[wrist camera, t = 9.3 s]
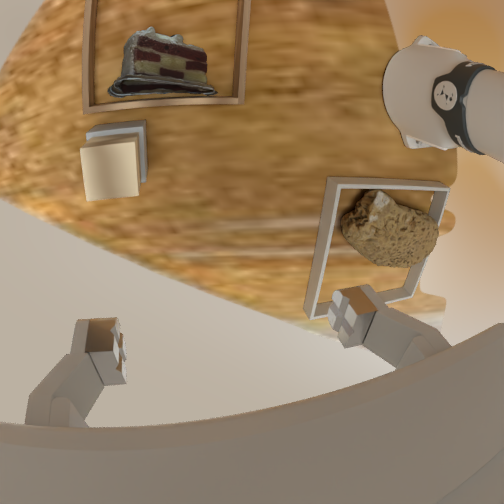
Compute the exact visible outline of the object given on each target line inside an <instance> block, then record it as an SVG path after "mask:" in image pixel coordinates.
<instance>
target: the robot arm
mask: <svg viewBox="0 0 504 504" xmlns="http://www.w3.org/2000/svg"><path fill="white" fill-rule="evenodd" d="M383 97H384V103H385V106H386V109H387V112H388V114H389V116H390V118H391V120H392V121H393V123H394V124H395V125H396V126H397V128H398V129H399V130H400V132H401V135H402V139H403V142H404V144H405V146H406V147H407V148H411V149H417V148H425V147H436V148H439V149H442V150H447V149H452V148H457V147H462V148H464V149H466V150H468V151H470V152H474V153H477V154H479V155H489V156H490V157H492V158H494V159H496V160H498V161H500V162H502V163H504V73H503V72H500V71H497V70H495V69H494V68H493V67H490V66H487V65H485V64H483V63H478V62H473V61H471V60H468V59H467V56H466V55H464V54H462V53H461V52H460V51H459V50H455V49H451V48H445V47H440V46H439V45H438V44H436V43H435V42H434V41H432V40H431V39H430V38H428V37H427V36H422V35H421V36H418V37H417V38H416V39H415V41H414V42H413V43H412V45H410V46H409V47H406V48H404V49H402V50H400V51H399V52H397V53H396V54H395V55H394V56H393V57H392V59H391V60H390V62H389V64H388V66H387V68H386V71H385V75H384V80H383ZM416 140H417V141H416ZM332 300H333V301H334V302H333V303H332V304H331V306H330V307H329V310H328V320H329V323H330V325H331V327H332V329H333V330H335V331H337V332H338V338H339V340H340V342H341V343H342V345H343V346H344V348H349V347H353V346H358V345H362V344H363V346H364V347H366V348H367V349H369V350H370V351H372V352H373V353H375V354H376V355H378V356H379V357H381V358H382V359H384V360H385V361H387V362H388V363H389V364H391V365H392V366H394V367H396V369H395V371H393V372H390V373H387V374H385V375H382V376H379V377H376V378H373V379H370V380H367V381H365V382H362V383H359V384H355V385H352V386H349V387H346V388H343V389H339V390H336V391H333V392H329V393H326V394H322V395H319V396H316V397H312V398H308V399H305V400H300V401H296V402H292V403H288V404H284V405H279V406H275V407H271V408H266V409H262V410H256V411H252V412H246V413H241V414H235V415H229V416H223V417H217V418H210V419H203V420H196V421H188V422H179V423H171V424H159V425H147V426H132V427H131V426H130V427H106V428H105V427H103V428H101V427H99V428H89V426H88V425H87V424H86V422H85V421H84V420H85V418H86V417H87V415H88V413H89V411H90V410H91V408H92V407H93V405H94V403H95V402H96V400H97V398H98V397H99V395H100V393H101V392H102V390H103V389H104V386H108V385H120V384H126V367H125V364H124V362H125V360H126V345H125V340H124V337H123V334H122V333H120V323H119V320H118V318H117V317H115V318H96V319H82V320H81V319H78V320H77V322H76V324H75V329H74V335H73V340H72V346H71V352H70V354H66V355H65V356H64V357H63V358H62V359H61V360H60V362H59V363H58V364H57V365H56V366H55V367H54V368H53V369H52V370H51V371H50V372H49V374H48V375H47V376H46V377H45V378H44V379H43V380H42V382H41V383H40V384H39V385H38V386H37V387H36V388H35V389H34V390H33V392H32V393H31V394H30V395H29V399H28V405H27V411H26V418H25V425H24V424H14V423H6V422H0V504H504V323H498V324H496V325H494V326H492V327H490V328H488V329H486V330H485V331H483V332H481V333H479V334H477V335H475V336H473V337H471V338H469V339H467V340H465V341H463V342H461V343H459V344H457V345H455V346H451V345H450V344H449V343H448V342H447V340H446V339H445V338H444V337H443V336H442V335H441V333H440V332H439V331H438V330H437V329H436V328H434V327H432V326H430V325H428V324H426V323H423V322H421V321H419V320H417V319H415V318H413V317H411V316H409V315H406V314H404V313H402V312H400V311H398V310H396V309H394V308H388V306H387V305H386V304H385V303H384V302H383V300H382V299H381V298H380V297H379V296H378V295H377V293H376V292H375V291H374V290H373V289H372V287H371V286H369V285H367V284H366V285H360V286H356V287H351V288H345V289H339V290H335V291H334V293H333V295H332Z"/></svg>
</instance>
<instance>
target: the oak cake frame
mask: <svg viewBox="0 0 504 504" xmlns="http://www.w3.org/2000/svg"><path fill="white" fill-rule="evenodd" d="M97 3H98V0H86V2H85V13H84V26H83V47H82V99H83V114H89V113H96V112H104V111H112V110H120V109H130V108H141V107H153V106H169V105H192V104H244V98H245V81H246V65H247V50H248V35H249V20H250V6H251V0H238V12H237V26H236V41H235V58H234V75H233V93H232V96H188V97H166V98H150V99H138V100H128V101H118V102H110V103H102V104H95V99H94V51H95V28H96V14H97Z"/></svg>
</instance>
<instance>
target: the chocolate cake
mask: <svg viewBox="0 0 504 504" xmlns="http://www.w3.org/2000/svg"><path fill="white" fill-rule="evenodd" d="M206 61H207V55H206V53H205V52H204V50H203V49H202V48H199V47H196V46H194V45H186V44H184V43H183V37H182V36H181V35H173V36H171V37H169V36H166V35H161V34H158V33H155V29H154V28H153V27H149V28H148V29H147V30H146V31H145V30H142V31H137V32H136V33H135V34H133V35H132V36H131V37H130V38H129V39H128V41H127V43H126V44H125V46H124V59H123V62H122V72H121V77H119V78H118V79H117V80H116V81H114V84H113V85H112V86H111V87H109V89H108V92H109V94H110V96H113V97H118V98H119V97H120V98H122V97H125V96H133V95H141V94H142V95H143V94H152V93H157V94H159V93H160V94H166V93H173V92H174V93H191V94H192V93H196V94H197V93H198V94H201V93H203V94H205V95H207V96H209V95H214V94H217V92H216V91H215V90H214V87H212V86H211V85H207V84H206V83H207V77H206V76H205V74H206V72H207V62H206Z"/></svg>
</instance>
